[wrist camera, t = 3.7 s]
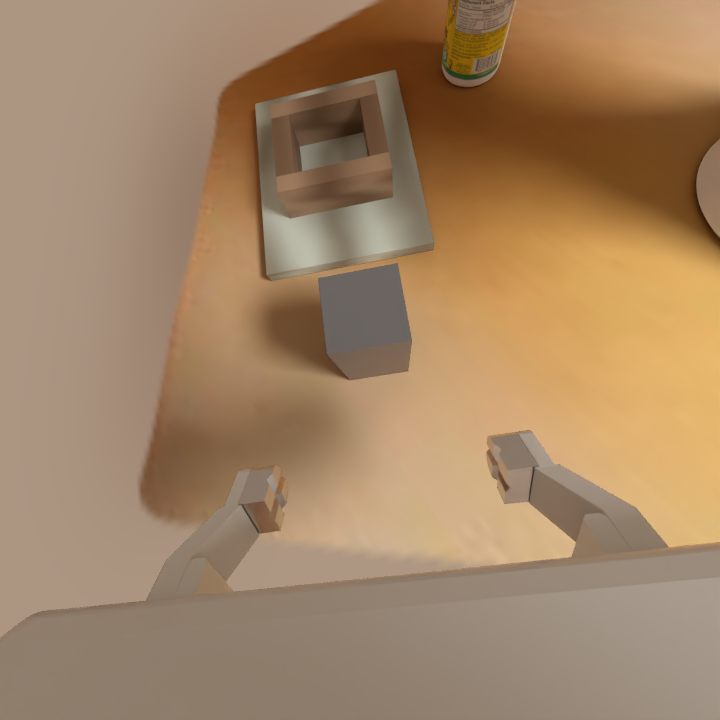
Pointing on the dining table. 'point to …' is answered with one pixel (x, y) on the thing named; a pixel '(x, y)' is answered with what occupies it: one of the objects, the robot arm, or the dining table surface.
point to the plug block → (366, 322)
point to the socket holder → (339, 178)
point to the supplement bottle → (475, 39)
